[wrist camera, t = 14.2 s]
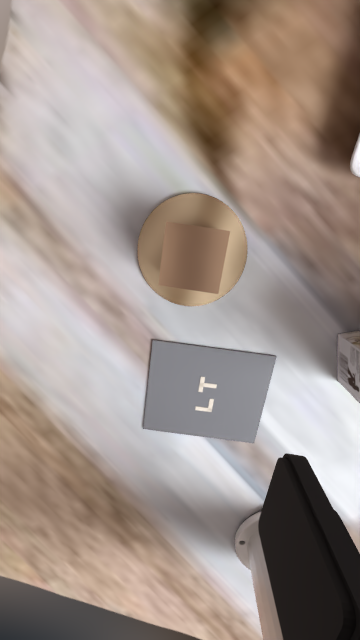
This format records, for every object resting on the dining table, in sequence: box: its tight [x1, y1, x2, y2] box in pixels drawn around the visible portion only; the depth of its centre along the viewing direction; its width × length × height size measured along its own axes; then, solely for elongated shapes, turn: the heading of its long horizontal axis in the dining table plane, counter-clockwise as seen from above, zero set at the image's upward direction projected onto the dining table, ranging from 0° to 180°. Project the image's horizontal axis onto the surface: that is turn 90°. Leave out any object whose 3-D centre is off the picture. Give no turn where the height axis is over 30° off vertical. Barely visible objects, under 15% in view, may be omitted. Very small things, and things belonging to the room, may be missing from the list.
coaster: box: [137, 193, 247, 306], centre depth 28 cm, size 11×11×1 cm
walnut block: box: [158, 221, 230, 294], centre depth 25 cm, size 5×5×6 cm
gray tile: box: [143, 340, 276, 443], centre depth 33 cm, size 14×12×1 cm
